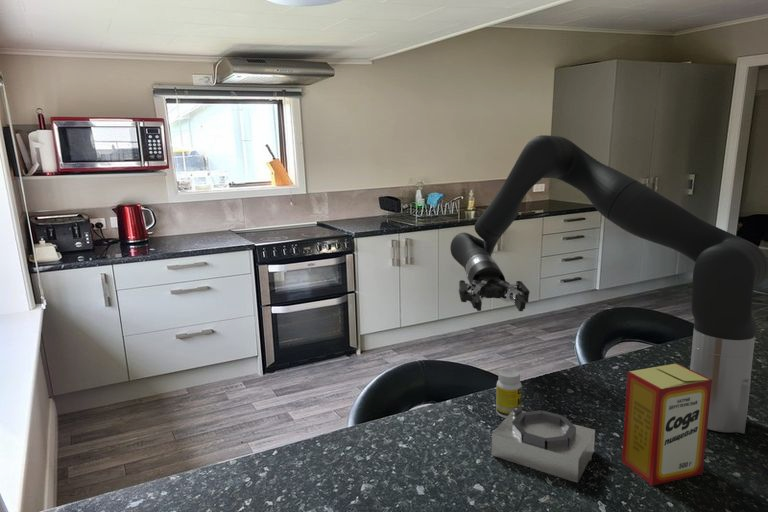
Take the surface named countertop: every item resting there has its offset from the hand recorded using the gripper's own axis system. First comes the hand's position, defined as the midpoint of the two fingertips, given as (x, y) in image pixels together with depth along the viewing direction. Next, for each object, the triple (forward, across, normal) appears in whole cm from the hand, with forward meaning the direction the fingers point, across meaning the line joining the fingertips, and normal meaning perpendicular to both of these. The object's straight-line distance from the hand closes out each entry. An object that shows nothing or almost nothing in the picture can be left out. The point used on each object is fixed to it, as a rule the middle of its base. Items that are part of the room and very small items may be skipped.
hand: (500, 307), depth 106 cm
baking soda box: (+30, +20, +14) cm, 38 cm away
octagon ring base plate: (+24, +3, +15) cm, 29 cm away
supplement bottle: (+11, +1, +18) cm, 21 cm away
